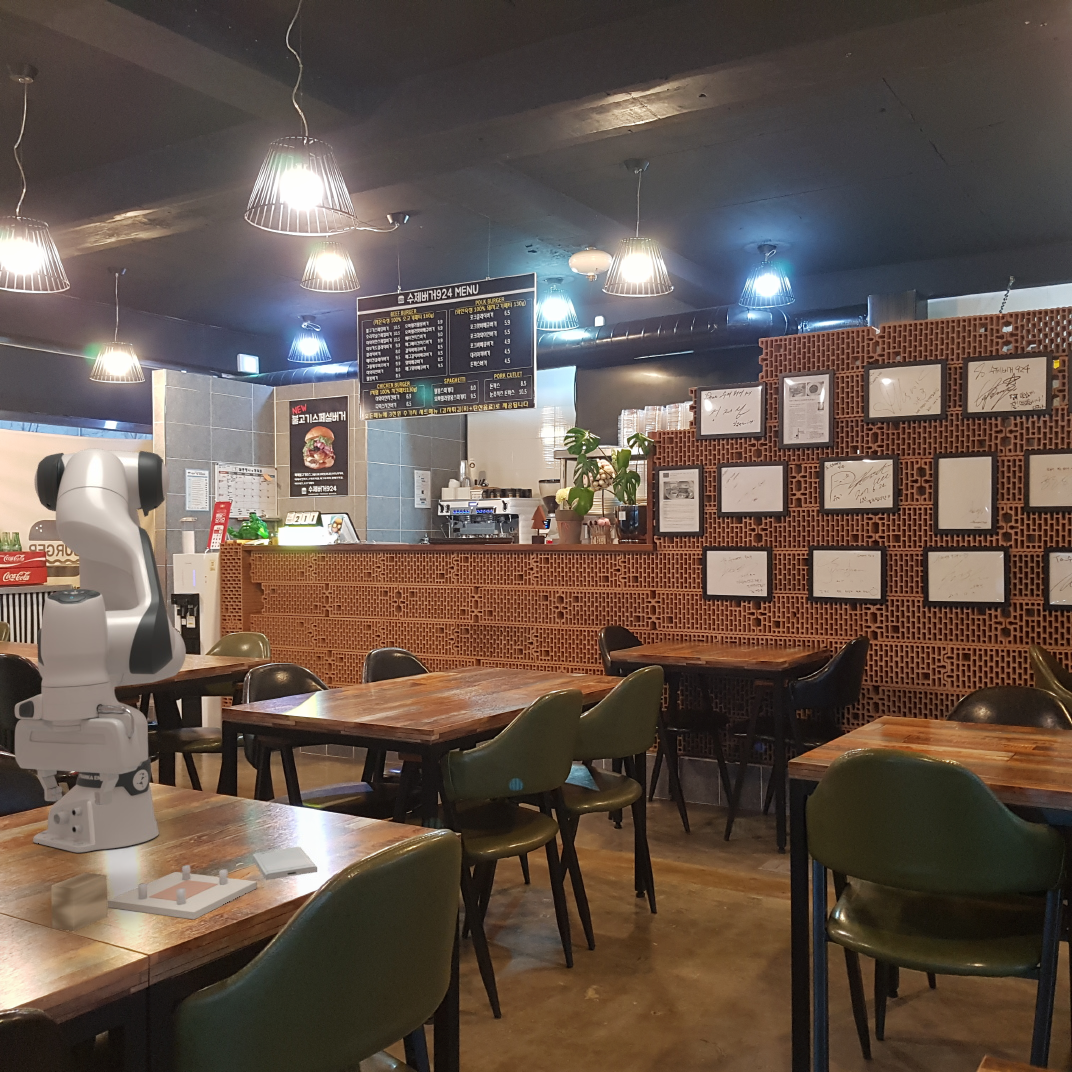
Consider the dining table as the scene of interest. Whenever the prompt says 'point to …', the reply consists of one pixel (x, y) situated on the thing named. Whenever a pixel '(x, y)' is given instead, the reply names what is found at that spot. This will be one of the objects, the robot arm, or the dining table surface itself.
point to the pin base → (183, 894)
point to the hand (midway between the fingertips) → (78, 802)
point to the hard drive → (283, 863)
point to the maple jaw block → (79, 901)
